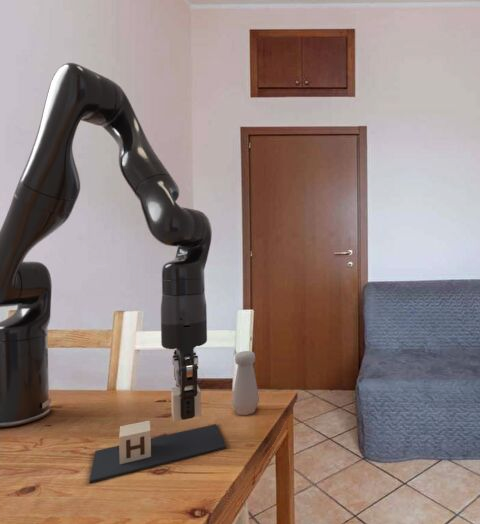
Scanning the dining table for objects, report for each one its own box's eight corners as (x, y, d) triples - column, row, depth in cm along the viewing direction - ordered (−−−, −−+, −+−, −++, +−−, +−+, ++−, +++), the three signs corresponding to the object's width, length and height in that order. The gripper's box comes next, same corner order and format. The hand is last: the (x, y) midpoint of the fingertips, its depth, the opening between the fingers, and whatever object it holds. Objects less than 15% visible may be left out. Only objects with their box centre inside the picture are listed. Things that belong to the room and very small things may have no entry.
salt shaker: (251, 418, 78) (251, 356, 78) (226, 415, 79) (226, 355, 79) (263, 406, 84) (263, 349, 84) (240, 405, 85) (239, 348, 85)
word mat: (89, 483, 56) (89, 480, 56) (95, 453, 65) (95, 450, 65) (226, 448, 66) (226, 445, 66) (215, 425, 75) (215, 424, 75)
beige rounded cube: (119, 464, 60) (119, 437, 60) (120, 451, 64) (120, 426, 64) (151, 457, 62) (150, 430, 62) (150, 445, 66) (149, 420, 66)
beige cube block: (173, 421, 64) (173, 396, 64) (171, 412, 68) (170, 388, 68) (201, 416, 66) (200, 391, 66) (197, 407, 70) (197, 383, 70)
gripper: (158, 315, 71) (160, 403, 72) (163, 327, 59) (165, 434, 59) (200, 311, 75) (202, 396, 75) (213, 322, 63) (215, 423, 63)
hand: (186, 412), depth 67 cm, fingers closed on beige cube block, 4 cm apart
